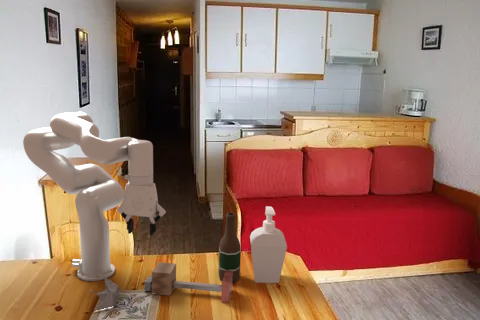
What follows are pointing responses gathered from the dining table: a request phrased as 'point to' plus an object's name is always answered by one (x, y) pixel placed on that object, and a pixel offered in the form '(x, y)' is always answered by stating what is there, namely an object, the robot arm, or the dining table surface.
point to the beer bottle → (230, 249)
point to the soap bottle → (268, 250)
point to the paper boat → (108, 295)
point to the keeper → (163, 278)
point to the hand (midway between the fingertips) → (141, 232)
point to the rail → (202, 286)
